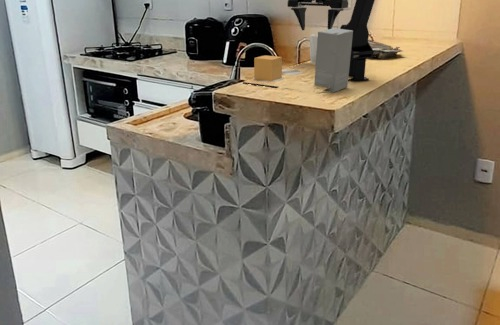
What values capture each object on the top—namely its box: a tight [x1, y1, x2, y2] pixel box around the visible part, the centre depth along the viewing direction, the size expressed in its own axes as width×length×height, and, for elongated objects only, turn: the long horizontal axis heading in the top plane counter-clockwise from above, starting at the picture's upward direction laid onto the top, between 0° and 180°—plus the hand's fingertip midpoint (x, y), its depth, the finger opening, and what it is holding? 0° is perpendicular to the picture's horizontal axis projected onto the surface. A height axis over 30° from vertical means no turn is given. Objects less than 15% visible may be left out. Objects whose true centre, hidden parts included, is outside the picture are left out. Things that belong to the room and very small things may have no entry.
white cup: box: [309, 33, 318, 64], centre depth 171 cm, size 8×8×10 cm
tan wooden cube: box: [253, 54, 283, 81], centre depth 141 cm, size 6×6×6 cm
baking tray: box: [354, 39, 403, 59], centre depth 193 cm, size 30×22×5 cm
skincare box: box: [313, 27, 353, 93], centre depth 132 cm, size 8×7×16 cm
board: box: [242, 69, 304, 89], centre depth 147 cm, size 11×22×1 cm, turn 147°
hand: (316, 31), depth 158 cm, fingers open, 9 cm apart
